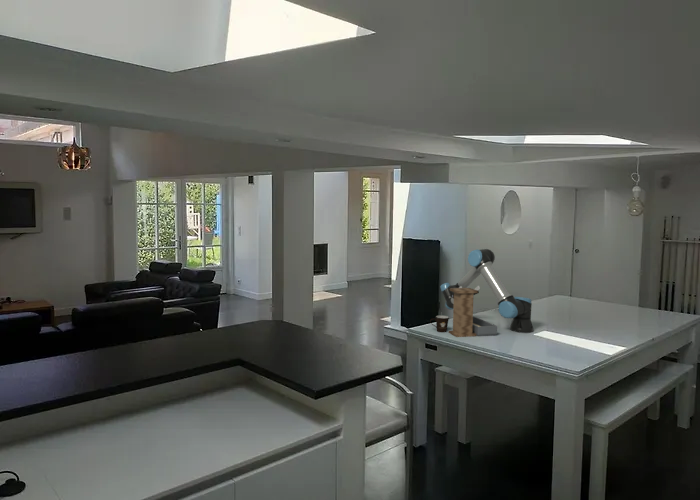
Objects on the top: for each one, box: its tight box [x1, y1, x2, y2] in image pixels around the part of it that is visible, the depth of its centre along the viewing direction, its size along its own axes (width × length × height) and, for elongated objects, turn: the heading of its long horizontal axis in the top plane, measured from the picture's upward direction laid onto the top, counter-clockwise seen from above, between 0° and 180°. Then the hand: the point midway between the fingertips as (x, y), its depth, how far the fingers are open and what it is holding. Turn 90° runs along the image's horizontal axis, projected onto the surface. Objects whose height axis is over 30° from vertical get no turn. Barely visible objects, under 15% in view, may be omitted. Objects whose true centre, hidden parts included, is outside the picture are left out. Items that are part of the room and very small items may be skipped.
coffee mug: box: [430, 315, 450, 333], centre depth 359 cm, size 12×9×10 cm
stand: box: [448, 287, 479, 338], centre depth 350 cm, size 14×12×30 cm
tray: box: [472, 315, 498, 337], centre depth 365 cm, size 14×32×6 cm, turn 15°
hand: (470, 287), depth 371 cm, fingers open, 13 cm apart
